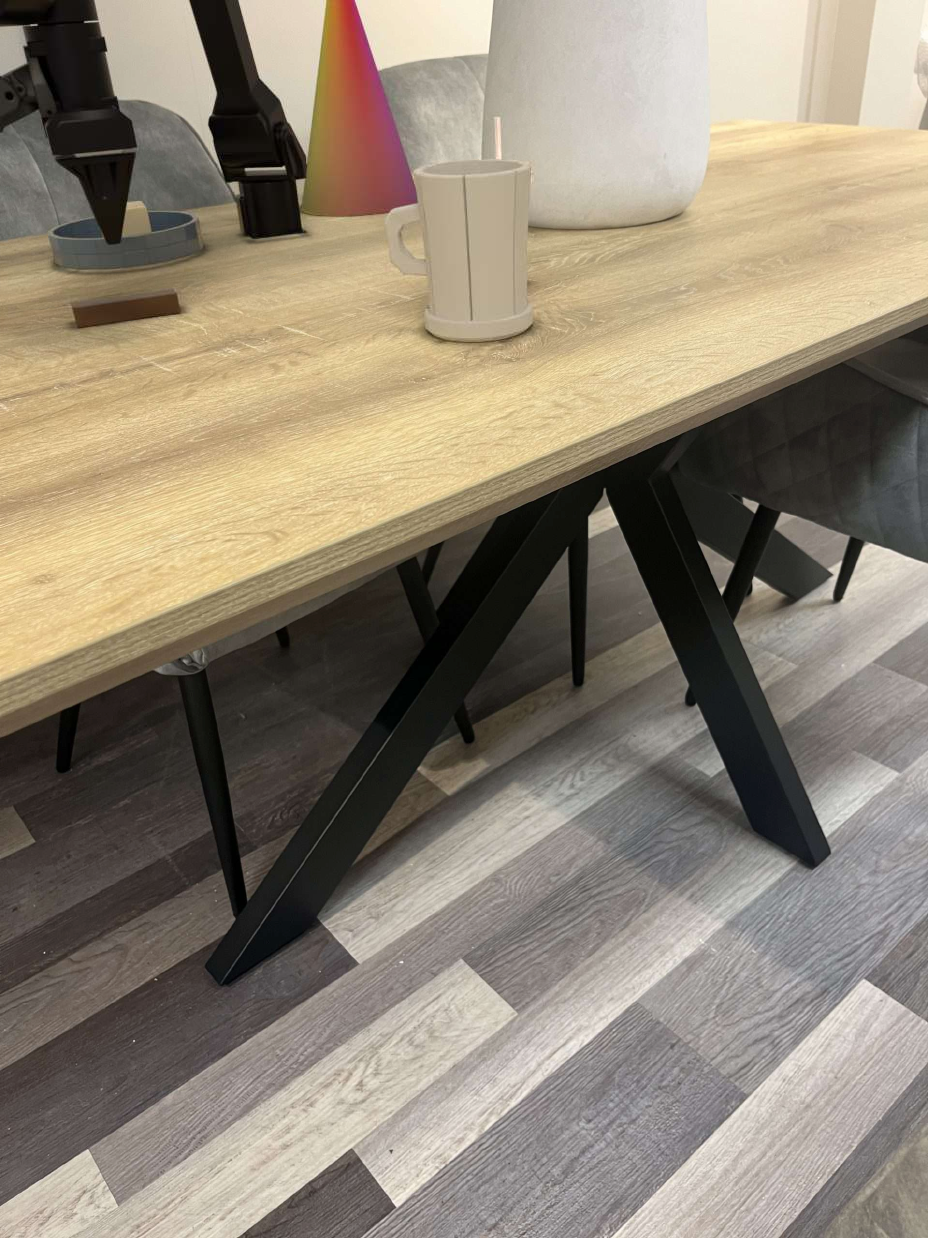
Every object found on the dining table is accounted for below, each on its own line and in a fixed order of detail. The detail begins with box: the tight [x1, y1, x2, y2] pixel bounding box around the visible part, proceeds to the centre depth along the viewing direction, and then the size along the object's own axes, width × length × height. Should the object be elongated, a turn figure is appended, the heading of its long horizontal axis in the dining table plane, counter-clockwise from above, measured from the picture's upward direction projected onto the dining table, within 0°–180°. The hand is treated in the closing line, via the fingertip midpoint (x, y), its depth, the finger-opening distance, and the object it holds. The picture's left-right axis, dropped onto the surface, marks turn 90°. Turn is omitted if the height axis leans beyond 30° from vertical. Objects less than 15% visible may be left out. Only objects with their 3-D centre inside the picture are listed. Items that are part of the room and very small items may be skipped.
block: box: [101, 200, 151, 238], centre depth 110 cm, size 5×5×5 cm
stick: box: [70, 288, 181, 329], centre depth 88 cm, size 9×2×2 cm, turn 112°
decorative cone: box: [300, 0, 418, 217], centre depth 126 cm, size 16×16×30 cm
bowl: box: [47, 210, 205, 271], centre depth 111 cm, size 16×16×4 cm
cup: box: [383, 158, 534, 343], centre depth 77 cm, size 10×9×12 cm
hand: (109, 234), depth 85 cm, fingers open, 9 cm apart
